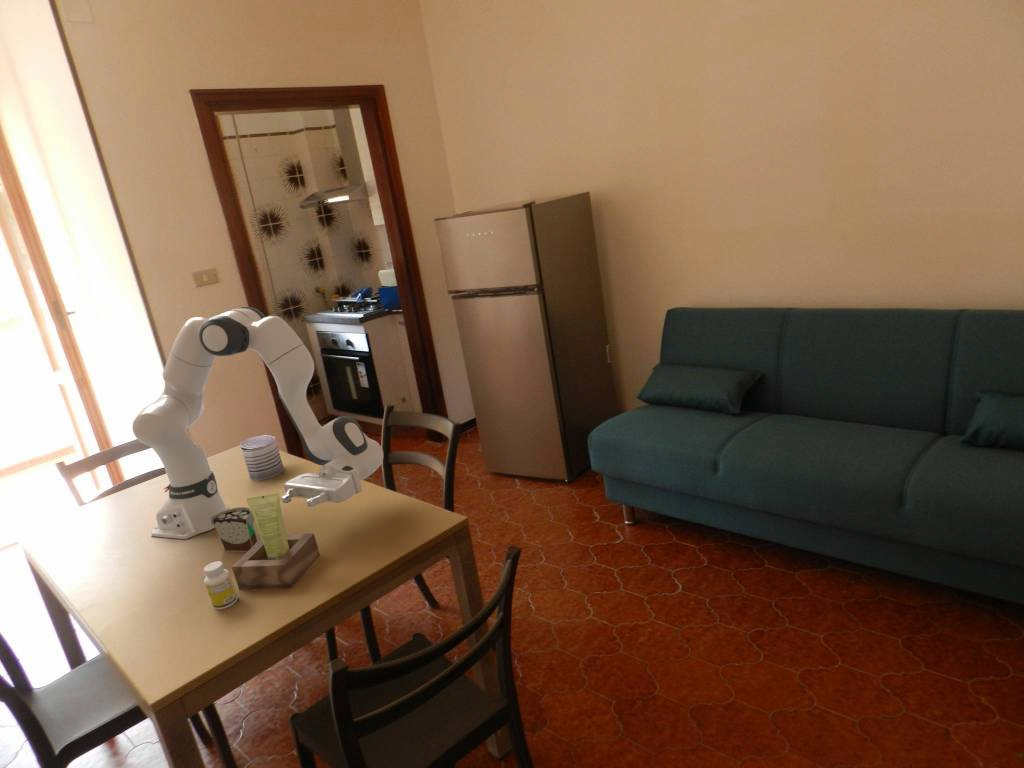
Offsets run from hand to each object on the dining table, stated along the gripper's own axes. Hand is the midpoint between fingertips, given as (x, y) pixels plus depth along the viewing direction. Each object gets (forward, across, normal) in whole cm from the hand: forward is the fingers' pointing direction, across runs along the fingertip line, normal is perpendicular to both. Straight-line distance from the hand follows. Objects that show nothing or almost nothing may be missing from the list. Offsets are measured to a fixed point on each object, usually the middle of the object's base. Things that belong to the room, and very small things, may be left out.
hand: (296, 502), depth 174 cm
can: (-35, -58, +14) cm, 69 cm away
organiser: (+10, 0, +14) cm, 17 cm away
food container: (+3, -21, +14) cm, 25 cm away
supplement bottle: (+24, -3, +14) cm, 27 cm away
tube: (+10, +2, +13) cm, 16 cm away
